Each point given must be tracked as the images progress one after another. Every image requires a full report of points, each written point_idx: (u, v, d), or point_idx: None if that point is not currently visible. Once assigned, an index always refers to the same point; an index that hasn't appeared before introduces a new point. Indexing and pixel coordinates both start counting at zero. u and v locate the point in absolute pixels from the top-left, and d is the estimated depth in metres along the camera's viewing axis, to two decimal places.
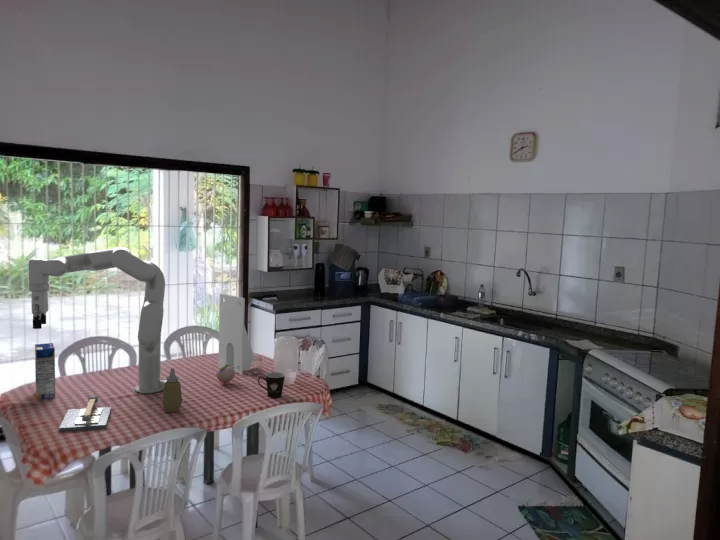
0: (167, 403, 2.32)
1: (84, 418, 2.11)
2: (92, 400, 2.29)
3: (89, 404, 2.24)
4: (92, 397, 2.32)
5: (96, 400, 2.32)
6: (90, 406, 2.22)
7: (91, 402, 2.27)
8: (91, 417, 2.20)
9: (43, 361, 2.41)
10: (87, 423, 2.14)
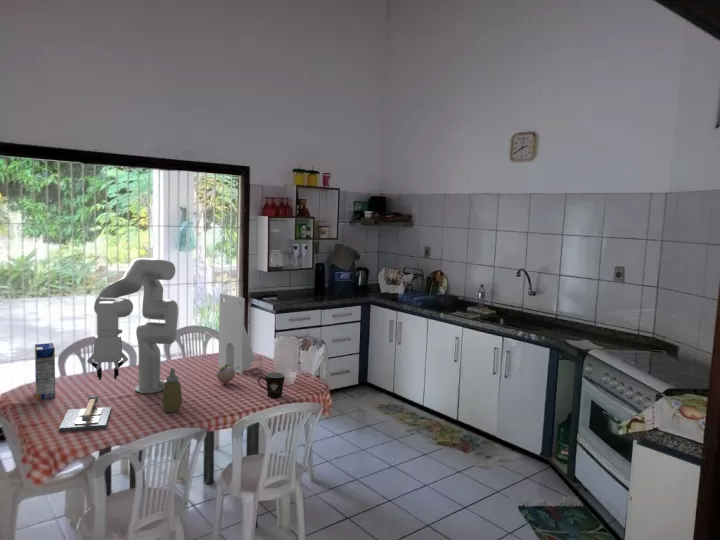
0: (167, 403, 2.32)
1: (84, 418, 2.11)
2: (92, 400, 2.29)
3: (89, 404, 2.24)
4: (92, 397, 2.32)
5: (96, 400, 2.32)
6: (90, 406, 2.22)
7: (91, 402, 2.27)
8: (91, 417, 2.20)
9: (43, 361, 2.41)
10: (87, 423, 2.14)
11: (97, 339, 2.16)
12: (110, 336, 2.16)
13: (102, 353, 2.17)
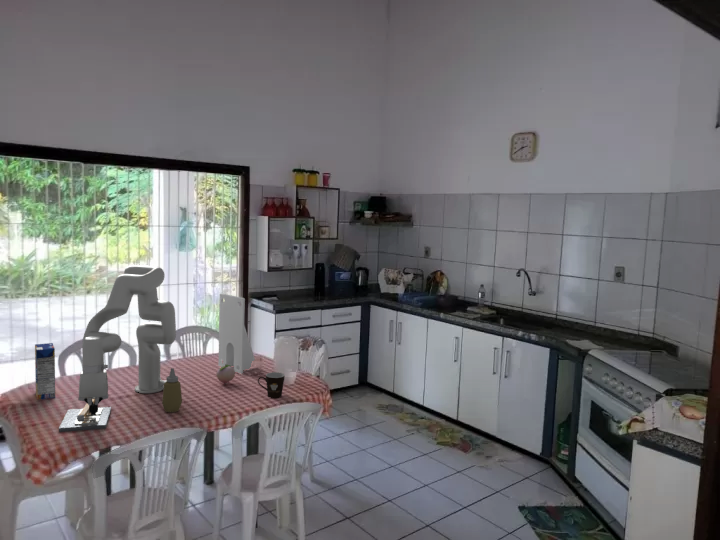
0: (167, 403, 2.32)
1: (79, 418, 2.11)
2: None
3: (87, 404, 2.24)
4: None
5: None
6: (88, 406, 2.22)
7: None
8: (91, 417, 2.20)
9: (43, 361, 2.41)
10: (87, 423, 2.14)
11: (82, 375, 2.16)
12: (96, 372, 2.16)
13: (88, 389, 2.16)
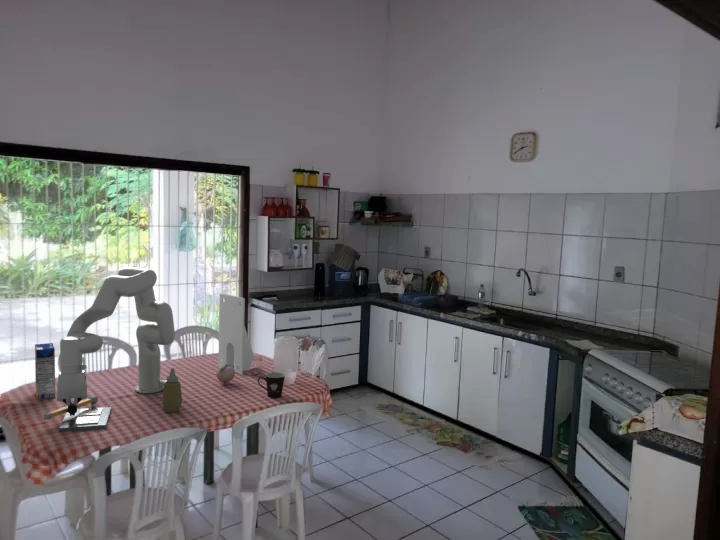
0: (167, 403, 2.32)
1: (44, 416, 2.12)
2: (86, 400, 2.29)
3: None
4: (91, 397, 2.32)
5: (93, 401, 2.31)
6: None
7: (81, 401, 2.27)
8: (91, 417, 2.20)
9: (43, 361, 2.41)
10: (87, 423, 2.14)
11: (61, 376, 2.15)
12: (74, 372, 2.15)
13: (66, 389, 2.16)
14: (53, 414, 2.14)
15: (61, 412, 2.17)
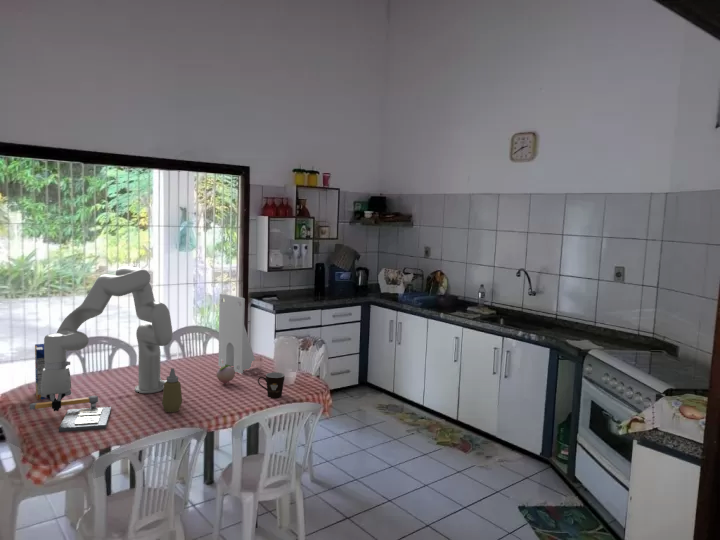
0: (167, 403, 2.32)
1: None
2: (82, 398, 2.31)
3: (69, 399, 2.29)
4: (91, 397, 2.33)
5: (90, 401, 2.31)
6: (63, 401, 2.27)
7: (76, 399, 2.30)
8: (91, 417, 2.20)
9: (43, 361, 2.41)
10: (87, 423, 2.14)
11: (44, 372, 2.19)
12: (57, 369, 2.19)
13: (50, 385, 2.20)
14: (38, 406, 2.22)
15: (48, 405, 2.24)
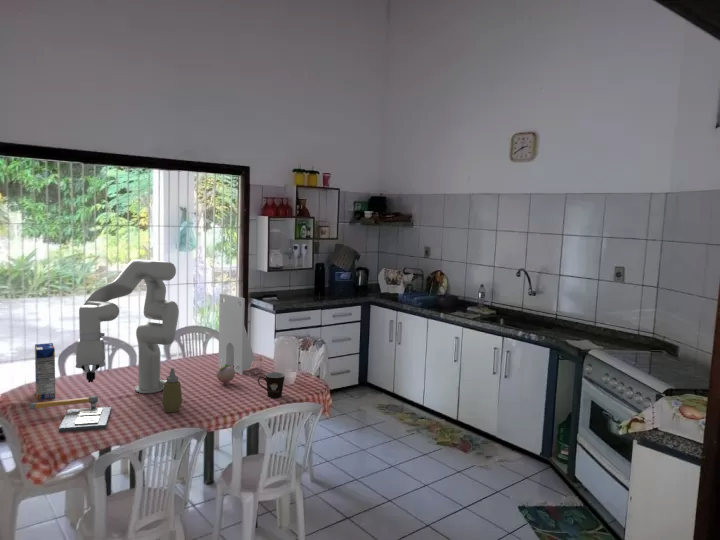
0: (167, 403, 2.32)
1: None
2: (82, 398, 2.31)
3: (69, 399, 2.29)
4: (91, 397, 2.33)
5: (90, 401, 2.31)
6: (63, 400, 2.27)
7: (76, 399, 2.30)
8: (91, 417, 2.20)
9: (43, 361, 2.41)
10: (87, 423, 2.14)
11: (79, 342, 2.19)
12: (92, 339, 2.19)
13: (85, 356, 2.20)
14: (38, 405, 2.22)
15: (48, 405, 2.24)
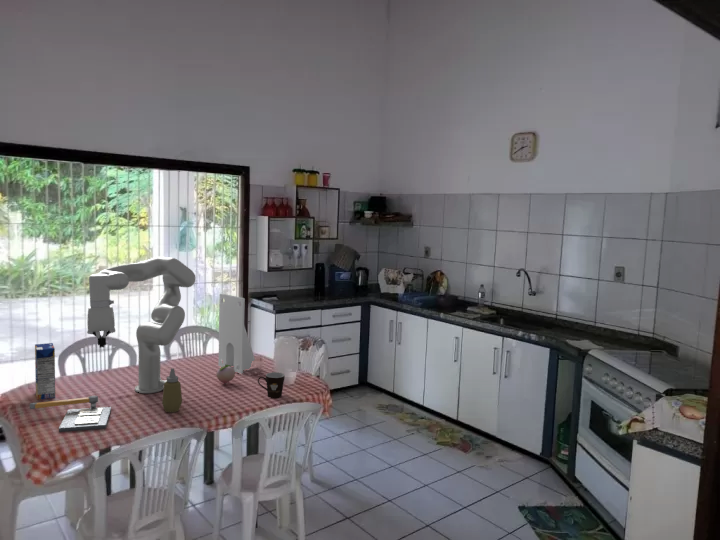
0: (167, 403, 2.32)
1: None
2: (82, 398, 2.31)
3: (69, 399, 2.29)
4: (91, 397, 2.33)
5: (90, 401, 2.31)
6: (63, 400, 2.27)
7: (76, 399, 2.30)
8: (91, 417, 2.20)
9: (43, 361, 2.41)
10: (87, 423, 2.14)
11: (90, 309, 2.30)
12: (102, 306, 2.30)
13: (96, 322, 2.31)
14: (38, 405, 2.22)
15: (48, 405, 2.24)
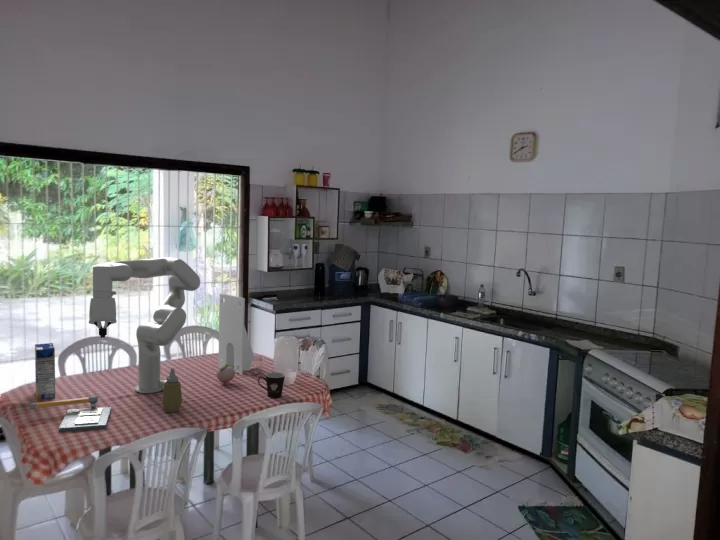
0: (167, 403, 2.32)
1: None
2: (82, 398, 2.31)
3: (69, 399, 2.29)
4: (91, 397, 2.33)
5: (90, 401, 2.31)
6: (63, 400, 2.27)
7: (76, 399, 2.30)
8: (91, 417, 2.20)
9: (43, 361, 2.41)
10: (87, 423, 2.14)
11: (93, 299, 2.33)
12: (105, 297, 2.33)
13: (97, 312, 2.34)
14: (38, 405, 2.22)
15: (48, 405, 2.24)
